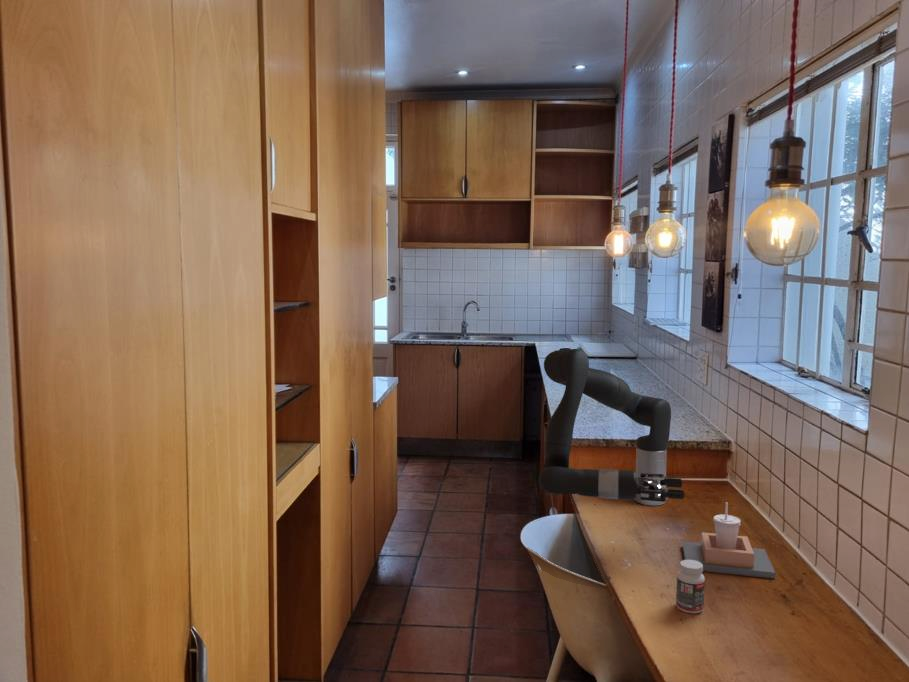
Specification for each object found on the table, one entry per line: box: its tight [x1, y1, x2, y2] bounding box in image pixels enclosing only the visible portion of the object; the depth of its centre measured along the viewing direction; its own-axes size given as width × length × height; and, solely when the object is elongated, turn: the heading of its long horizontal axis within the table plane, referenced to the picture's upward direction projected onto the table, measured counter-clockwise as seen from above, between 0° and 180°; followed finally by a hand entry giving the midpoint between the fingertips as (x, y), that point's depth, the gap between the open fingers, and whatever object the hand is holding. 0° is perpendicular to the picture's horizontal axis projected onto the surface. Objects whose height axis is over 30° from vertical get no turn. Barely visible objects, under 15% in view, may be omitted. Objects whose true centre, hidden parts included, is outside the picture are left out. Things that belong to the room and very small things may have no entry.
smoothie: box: [712, 501, 741, 550], centre depth 169 cm, size 6×6×14 cm
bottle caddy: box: [682, 532, 776, 580], centre depth 170 cm, size 14×20×5 cm
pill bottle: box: [675, 559, 706, 614], centre depth 147 cm, size 6×6×10 cm
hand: (682, 488), depth 171 cm, fingers open, 8 cm apart
